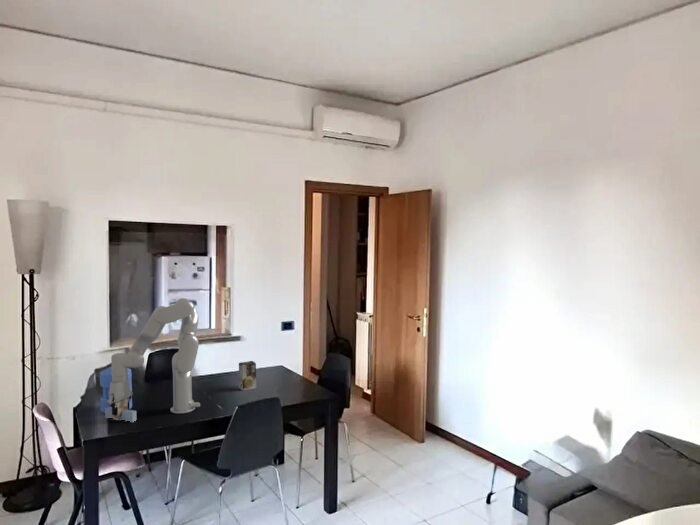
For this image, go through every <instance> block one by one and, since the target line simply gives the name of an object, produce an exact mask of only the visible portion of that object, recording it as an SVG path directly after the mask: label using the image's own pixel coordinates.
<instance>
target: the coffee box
mask: <svg viewBox="0 0 700 525" xmlns="http://www.w3.org/2000/svg"><path fill="white" fill-rule="evenodd" d="M238 387H239V389H240V391H243V392H245V391H248V390H255V389H257V363H256V362H255V361H253V360H249V361H243V362H242V361H241V362H238Z"/></svg>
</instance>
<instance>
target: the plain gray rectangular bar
mask: <svg viewBox="0 0 700 525" xmlns="http://www.w3.org/2000/svg"><path fill="white" fill-rule="evenodd" d="M108 418H113V419H112V420H114V416H113V415H112V407H107V408H105V413H104V419H108ZM137 419H138V418H137V410H133V409H129V410H127V409H125V410H123V411H122V414H120V419H119V420H118V421H121V420H125V421H124V422H127V421H130V422H129V423H135V422H136V420H137ZM134 421H135V422H134Z"/></svg>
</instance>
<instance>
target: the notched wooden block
mask: <svg viewBox="0 0 700 525" xmlns="http://www.w3.org/2000/svg"><path fill="white" fill-rule="evenodd" d="M114 404H115V402H114ZM117 407H118V415H113V416H114V419H113V420H114V421H120V420H119V419H120V414H122V411H123V410H125V409H127V410H128V400H127V399H124V400H122V401H119V402H118V404H117Z"/></svg>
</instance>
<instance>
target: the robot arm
mask: <svg viewBox="0 0 700 525" xmlns="http://www.w3.org/2000/svg"><path fill="white" fill-rule="evenodd" d="M179 320H181V323H180V324H181V325H180V329H179V334H178V337H177V345H178V347H179V348H178V351H177V352H175V353H174V355H172V358H171V366H172V394H173V395H172V398H173V399H172V400H173V401H172V402H173V404H172V405H173V406H172V407H171V408H170V413H173V414H186V413H191V412H193V411H194V410H195V409H196V408H200V407H201V403H200V402H196V401H194V399H193V390H192V389H193V388H192V386H193V385H192V384H193V383H192V380H193V379H192V378H193V376H192V370H193V368H194V367H195V364H196V360H197V355H198V351H199V339H198V337H197V330H198V326H199V314H198V310H197V308H196V306H195V305H194V303H193V302H192V301H191V300H189V299H188V298H183V297H182V298H179V299H177V300H176V302H175V303H174V304H172V305H168V306H164V305H160V306H157V307H156V308H155V309H154V310H153V311H152V313H151V315H150V317H149V318H148V320H147V322H146V324H145V326H144V327H143V328H142V330H141V332H140V334H139V335H138V336H137V338H136V339H135V341H134V342H133V344H132V346H131V347H130V349H129V351H128V352H127V353H125V352H118V353H117V352H116V353H114V354H112V355H111V364H110V365H111V366H112V382H111V383H110V390H109V400H108V401H107V403H108V404H109V405H110V406H111V407H112V415H118V407H117V404H118V402H119V401H122V400H124V399H127V400H128V410H130V409H129V402H130V399H131V396H133V395H134V392H133V391H132V392H131V391H130V383H129V379H128V375H129V374H128V368H129V369H131V368H133V369H134V368H135V369H137V368H140V367H141V366H143V364H144V362H145V357H144V355H145V353H146V351H147V350H148V348H149V347H150V345H151V344H152V343H153V342H155V341H156V340H157V339H159V336H160V335H161V333H162V332H163V329H164V328H165V326H166V325H167V324H171V323H174V322H176V321H179ZM114 402H115V404H114Z"/></svg>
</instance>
